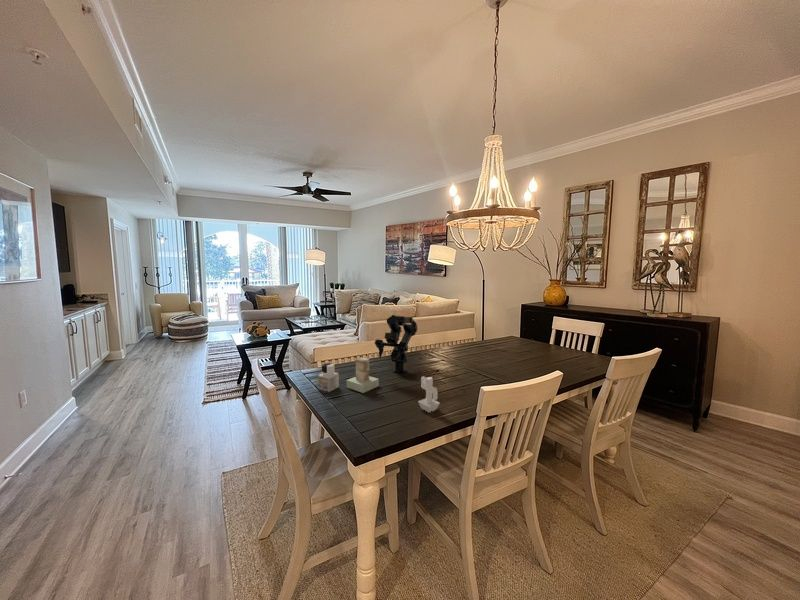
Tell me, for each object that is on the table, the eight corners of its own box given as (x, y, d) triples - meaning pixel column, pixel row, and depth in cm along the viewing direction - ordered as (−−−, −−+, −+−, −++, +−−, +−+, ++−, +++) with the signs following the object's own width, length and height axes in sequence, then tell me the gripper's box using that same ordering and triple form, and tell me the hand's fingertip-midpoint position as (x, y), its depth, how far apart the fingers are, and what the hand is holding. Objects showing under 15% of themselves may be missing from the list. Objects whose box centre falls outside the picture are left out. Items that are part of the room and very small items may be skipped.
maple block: (362, 377, 181) (362, 357, 179) (369, 379, 177) (369, 359, 176) (355, 379, 177) (355, 359, 175) (362, 381, 174) (362, 361, 172)
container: (318, 389, 174) (317, 365, 172) (327, 384, 181) (327, 361, 179) (329, 392, 170) (329, 367, 169) (339, 387, 177) (338, 363, 175)
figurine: (430, 415, 145) (430, 382, 143) (415, 408, 153) (416, 376, 151) (441, 411, 150) (442, 379, 148) (427, 403, 157) (428, 373, 155)
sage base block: (362, 380, 186) (362, 374, 185) (378, 386, 179) (378, 378, 178) (346, 387, 176) (346, 380, 176) (363, 393, 169) (363, 385, 169)
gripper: (375, 325, 188) (367, 349, 179) (407, 327, 182) (400, 352, 173) (381, 336, 197) (373, 359, 188) (411, 338, 191) (404, 363, 182)
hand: (387, 358), depth 182 cm, fingers open, 9 cm apart
